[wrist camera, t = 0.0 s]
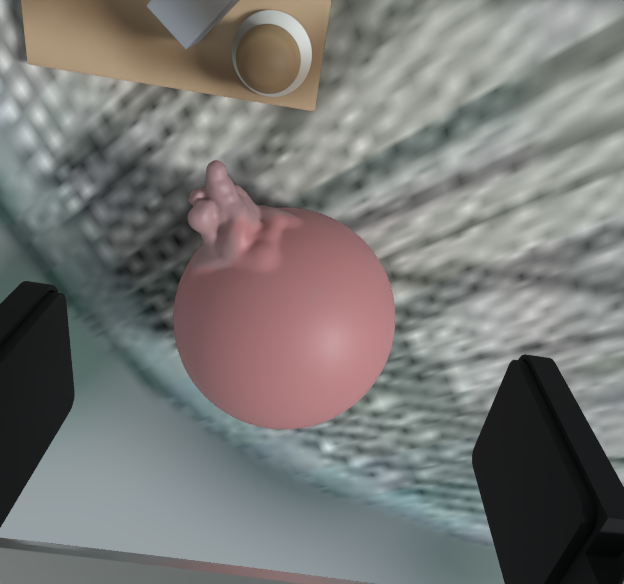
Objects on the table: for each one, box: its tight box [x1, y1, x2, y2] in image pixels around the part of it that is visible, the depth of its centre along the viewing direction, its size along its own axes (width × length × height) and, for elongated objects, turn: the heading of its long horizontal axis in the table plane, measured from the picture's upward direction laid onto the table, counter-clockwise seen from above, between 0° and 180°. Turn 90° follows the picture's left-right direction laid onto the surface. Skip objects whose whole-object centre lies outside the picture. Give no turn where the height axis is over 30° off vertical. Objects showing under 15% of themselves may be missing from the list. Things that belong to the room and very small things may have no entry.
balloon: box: [173, 160, 395, 429], centre depth 38 cm, size 15×20×15 cm
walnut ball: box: [236, 24, 301, 94], centre depth 34 cm, size 4×4×4 cm
